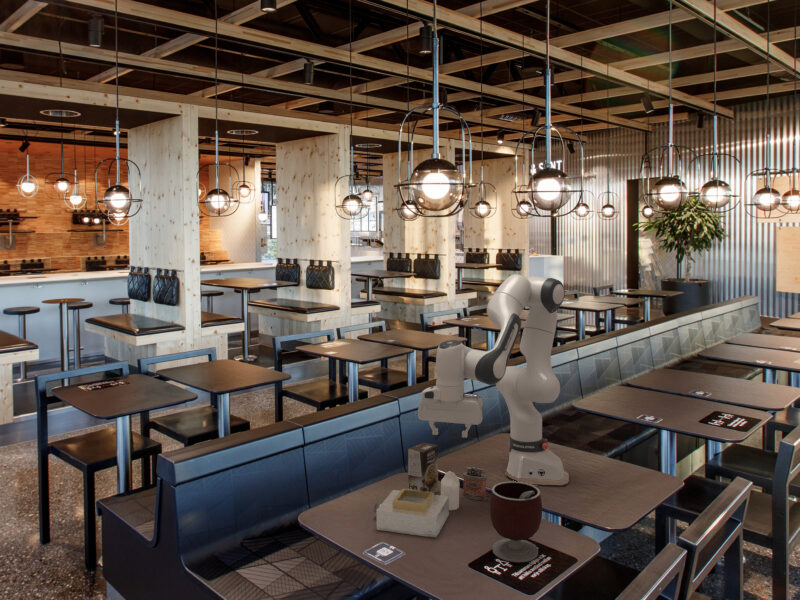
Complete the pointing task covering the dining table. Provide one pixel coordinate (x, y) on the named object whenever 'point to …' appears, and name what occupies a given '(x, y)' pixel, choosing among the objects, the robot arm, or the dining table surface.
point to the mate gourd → (515, 519)
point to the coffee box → (423, 467)
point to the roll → (451, 489)
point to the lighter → (474, 483)
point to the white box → (412, 512)
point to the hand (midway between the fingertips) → (449, 435)
